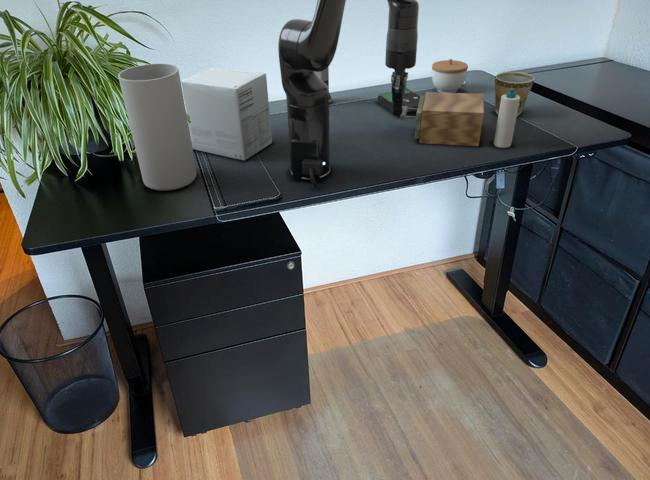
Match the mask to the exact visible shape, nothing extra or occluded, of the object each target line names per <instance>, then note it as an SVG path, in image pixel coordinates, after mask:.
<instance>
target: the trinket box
mask: <svg viewBox="0 0 650 480" xmlns="http://www.w3.org/2000/svg"><path fill="white" fill-rule="evenodd" d="M468 68H469V65H468V63H466V62H464V61H460V60H453V58H449V59H445V60H439V61H435V62H433V63H432V64H431V82H432V85H433V86H434V88H435V89H436V91H437V92H440V93H457V91H458V90H459V89H461V87H462V86H463V84H464V83H465V80H466V78H467V75H468V74H467V72H468Z"/></svg>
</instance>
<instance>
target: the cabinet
mask: <svg viewBox="0 0 650 480" xmlns="http://www.w3.org/2000/svg"><path fill="white" fill-rule="evenodd" d="M424 96H425V100H424V104H423V109H422V119H421V130H420V137H419V141H418V142H419V144H426V145H448V146H463V147H464V146H465V147H479V146H480V141H481V134H482V126H483V121H484V115H485V106H484V105H485V104H484V93H469V92H454V93H441V92H438V91H437V92H435V91H426V92H425V95H424Z"/></svg>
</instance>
